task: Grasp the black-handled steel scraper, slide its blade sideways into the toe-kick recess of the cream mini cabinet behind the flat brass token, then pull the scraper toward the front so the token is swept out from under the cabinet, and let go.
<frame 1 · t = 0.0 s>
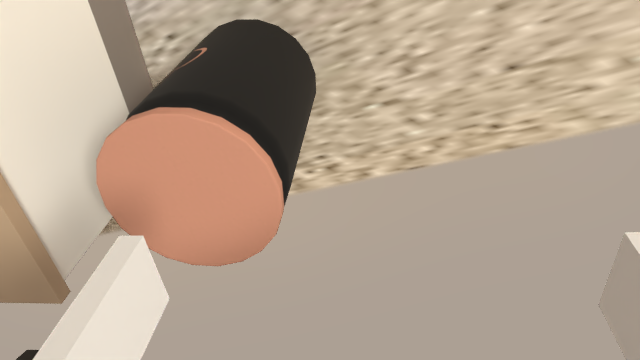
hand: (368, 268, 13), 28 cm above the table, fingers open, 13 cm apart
toe-kick cabinet: (63, 44, 40), on the table
coffee jar: (258, 75, 40), on the table
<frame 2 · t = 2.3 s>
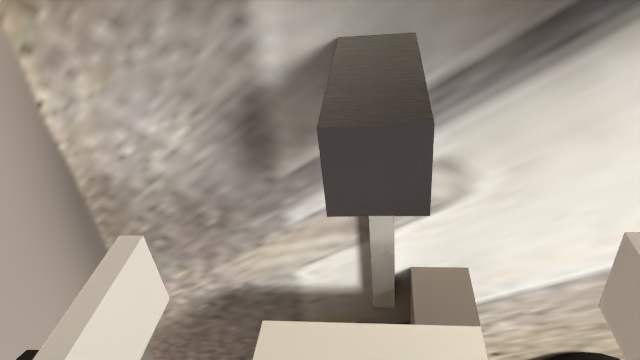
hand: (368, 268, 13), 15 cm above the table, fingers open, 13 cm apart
toe-kick cabinet: (373, 350, 39), on the table
steel scraper: (377, 71, 25), on the table
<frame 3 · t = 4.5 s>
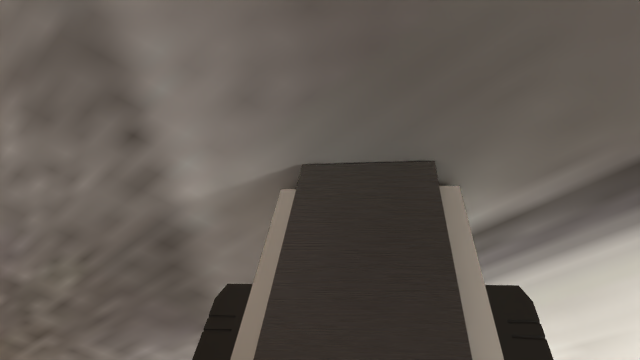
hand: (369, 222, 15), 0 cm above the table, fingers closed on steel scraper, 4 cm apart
steel scraper: (369, 214, 15), on the table, touching gripper
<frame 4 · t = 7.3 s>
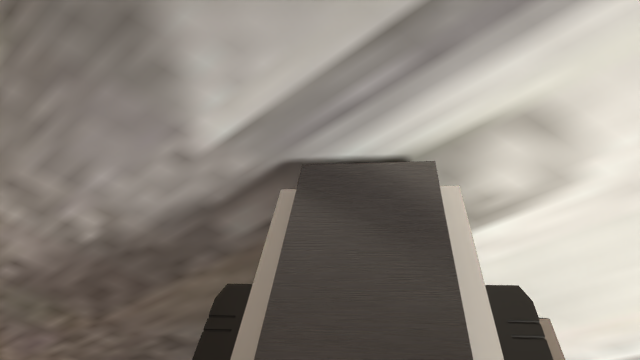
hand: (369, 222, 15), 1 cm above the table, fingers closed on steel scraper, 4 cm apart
steel scraper: (369, 214, 15), point 1 cm above the table, touching gripper
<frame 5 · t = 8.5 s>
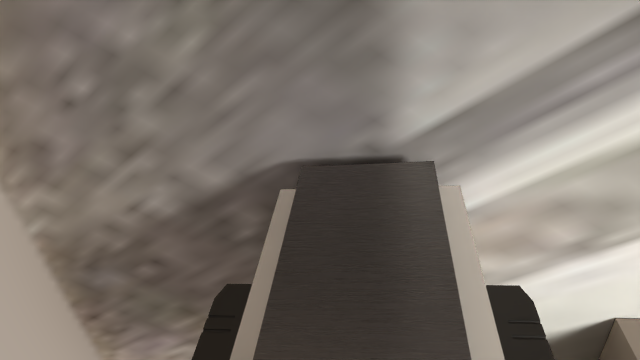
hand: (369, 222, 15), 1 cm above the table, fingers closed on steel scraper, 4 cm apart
steel scraper: (369, 215, 15), point 1 cm above the table, touching gripper
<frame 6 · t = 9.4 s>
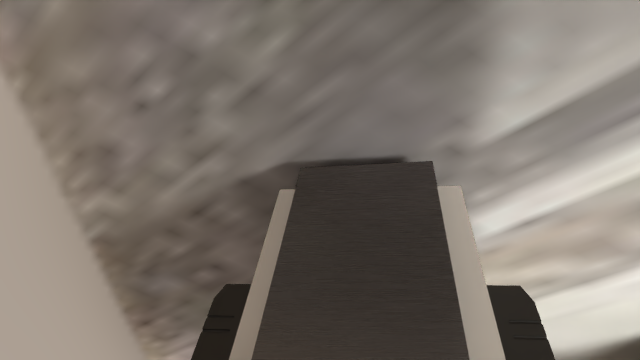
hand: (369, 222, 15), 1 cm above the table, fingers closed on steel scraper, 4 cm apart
steel scraper: (369, 216, 15), point 1 cm above the table, touching gripper
when the fingers open (0 cm above the table, at t = 10.3 s): steel scraper stays where it is, on the table.
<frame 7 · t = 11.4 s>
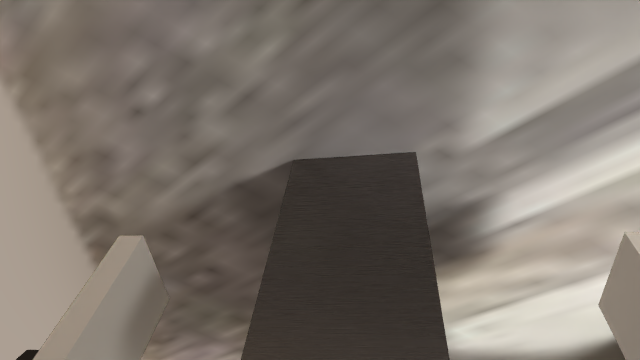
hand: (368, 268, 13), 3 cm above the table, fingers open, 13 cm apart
steel scraper: (358, 205, 16), on the table
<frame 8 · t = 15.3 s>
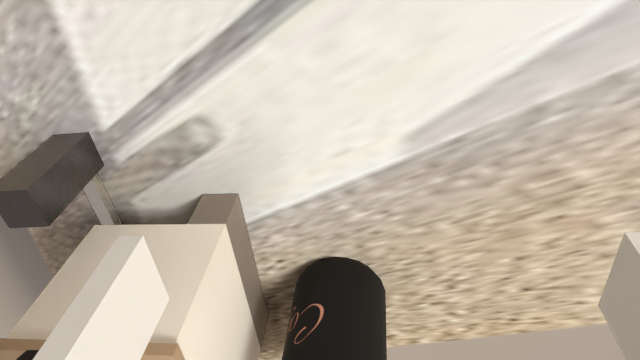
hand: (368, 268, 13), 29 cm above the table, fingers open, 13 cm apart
toe-kick cabinet: (199, 261, 55), on the table
coffee jar: (341, 283, 55), on the table
steel scraper: (79, 150, 48), on the table
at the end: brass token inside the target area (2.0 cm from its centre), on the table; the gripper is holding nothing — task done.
